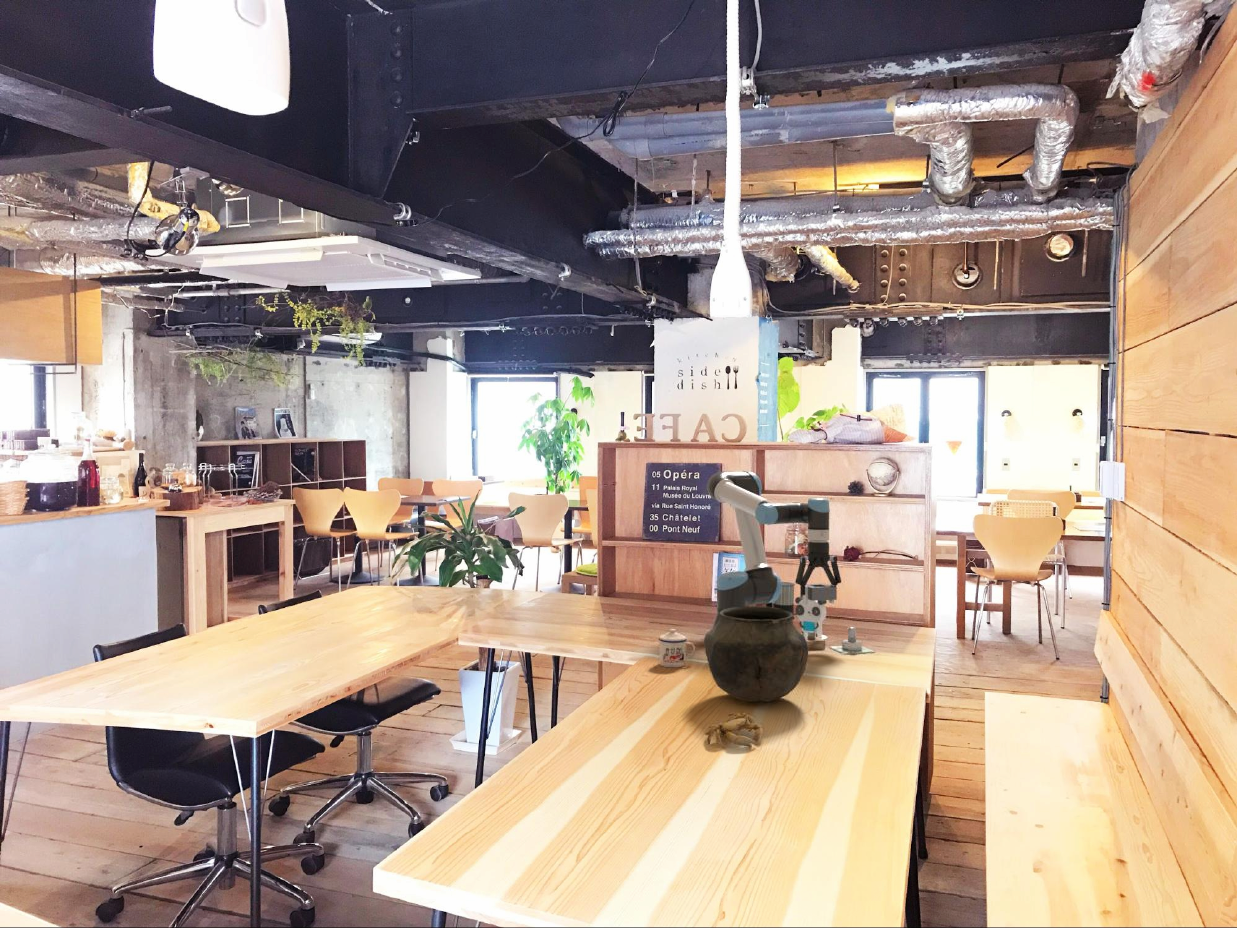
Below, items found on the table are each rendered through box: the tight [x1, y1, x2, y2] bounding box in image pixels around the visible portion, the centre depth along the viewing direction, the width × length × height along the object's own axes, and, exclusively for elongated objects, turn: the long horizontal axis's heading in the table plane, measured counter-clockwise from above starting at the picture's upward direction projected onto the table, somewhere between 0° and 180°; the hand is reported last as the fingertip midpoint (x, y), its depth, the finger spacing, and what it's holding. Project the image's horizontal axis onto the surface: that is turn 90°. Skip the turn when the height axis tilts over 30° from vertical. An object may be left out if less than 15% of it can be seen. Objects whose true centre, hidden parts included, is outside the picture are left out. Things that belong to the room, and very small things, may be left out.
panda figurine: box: [794, 596, 828, 641], centre depth 342 cm, size 12×11×15 cm
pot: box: [703, 605, 809, 703], centre depth 255 cm, size 29×32×25 cm
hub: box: [828, 626, 876, 655], centre depth 320 cm, size 12×11×8 cm
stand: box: [805, 631, 826, 651], centre depth 324 cm, size 7×7×6 cm
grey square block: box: [799, 583, 838, 601], centre depth 323 cm, size 10×10×4 cm
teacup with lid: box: [658, 628, 696, 669], centre depth 296 cm, size 12×9×12 cm
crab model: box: [705, 712, 763, 749], centre depth 219 cm, size 16×13×6 cm
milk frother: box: [765, 581, 796, 620], centre depth 379 cm, size 14×16×15 cm
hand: (818, 603), depth 323 cm, fingers closed on grey square block, 9 cm apart
